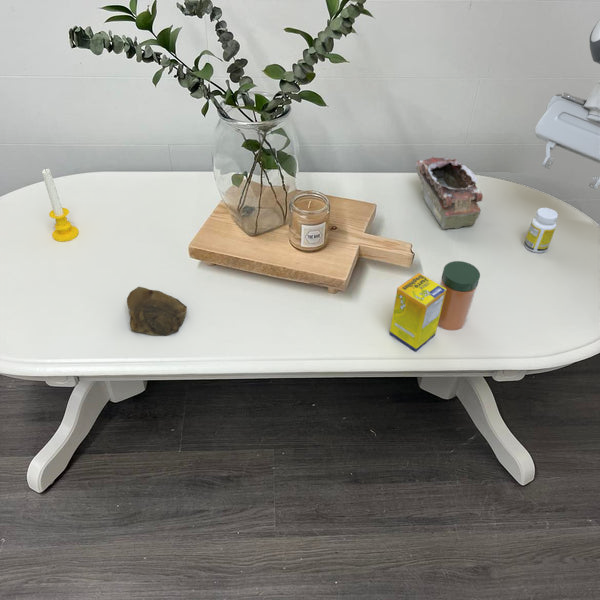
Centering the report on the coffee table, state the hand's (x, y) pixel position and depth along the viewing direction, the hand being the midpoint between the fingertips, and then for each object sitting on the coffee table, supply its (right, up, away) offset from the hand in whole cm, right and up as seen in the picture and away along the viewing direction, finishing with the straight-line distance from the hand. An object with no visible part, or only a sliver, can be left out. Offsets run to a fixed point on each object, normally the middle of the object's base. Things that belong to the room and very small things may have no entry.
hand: (568, 177), depth 110 cm
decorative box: (-21, -3, +21) cm, 29 cm away
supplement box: (-32, -30, -9) cm, 45 cm away
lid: (-24, -19, -13) cm, 34 cm away
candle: (-101, -10, +10) cm, 102 cm away
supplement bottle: (-2, -13, +11) cm, 17 cm away
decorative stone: (-77, -27, -7) cm, 82 cm away
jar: (-24, -27, -6) cm, 37 cm away
